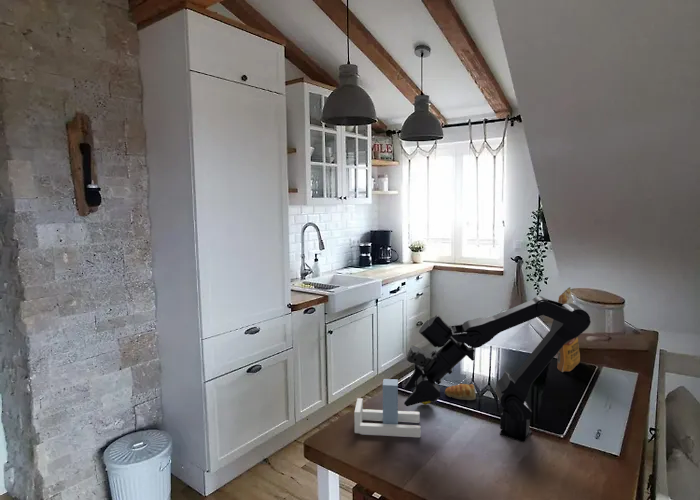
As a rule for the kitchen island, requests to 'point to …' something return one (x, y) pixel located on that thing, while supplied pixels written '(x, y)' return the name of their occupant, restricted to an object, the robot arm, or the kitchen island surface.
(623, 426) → the kitchen island surface
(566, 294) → the pancake mix bag
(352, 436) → the kitchen island surface
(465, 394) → the pastry
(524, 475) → the kitchen island surface
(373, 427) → the track
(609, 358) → the kitchen island surface
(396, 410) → the blue gray block
